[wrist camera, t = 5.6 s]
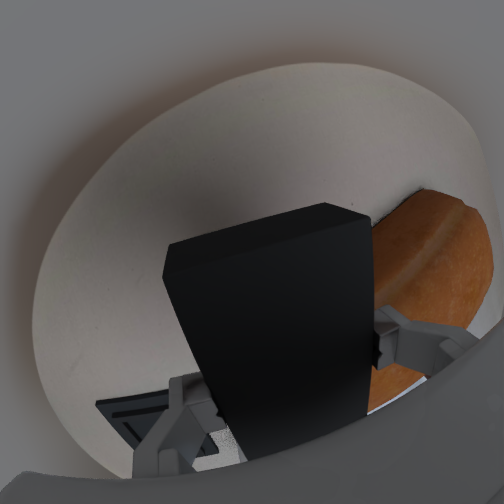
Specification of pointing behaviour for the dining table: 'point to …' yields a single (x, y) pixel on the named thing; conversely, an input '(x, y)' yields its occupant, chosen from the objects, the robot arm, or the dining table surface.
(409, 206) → the bread
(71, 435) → the dining table surface
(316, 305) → the black pad
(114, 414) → the base pad
